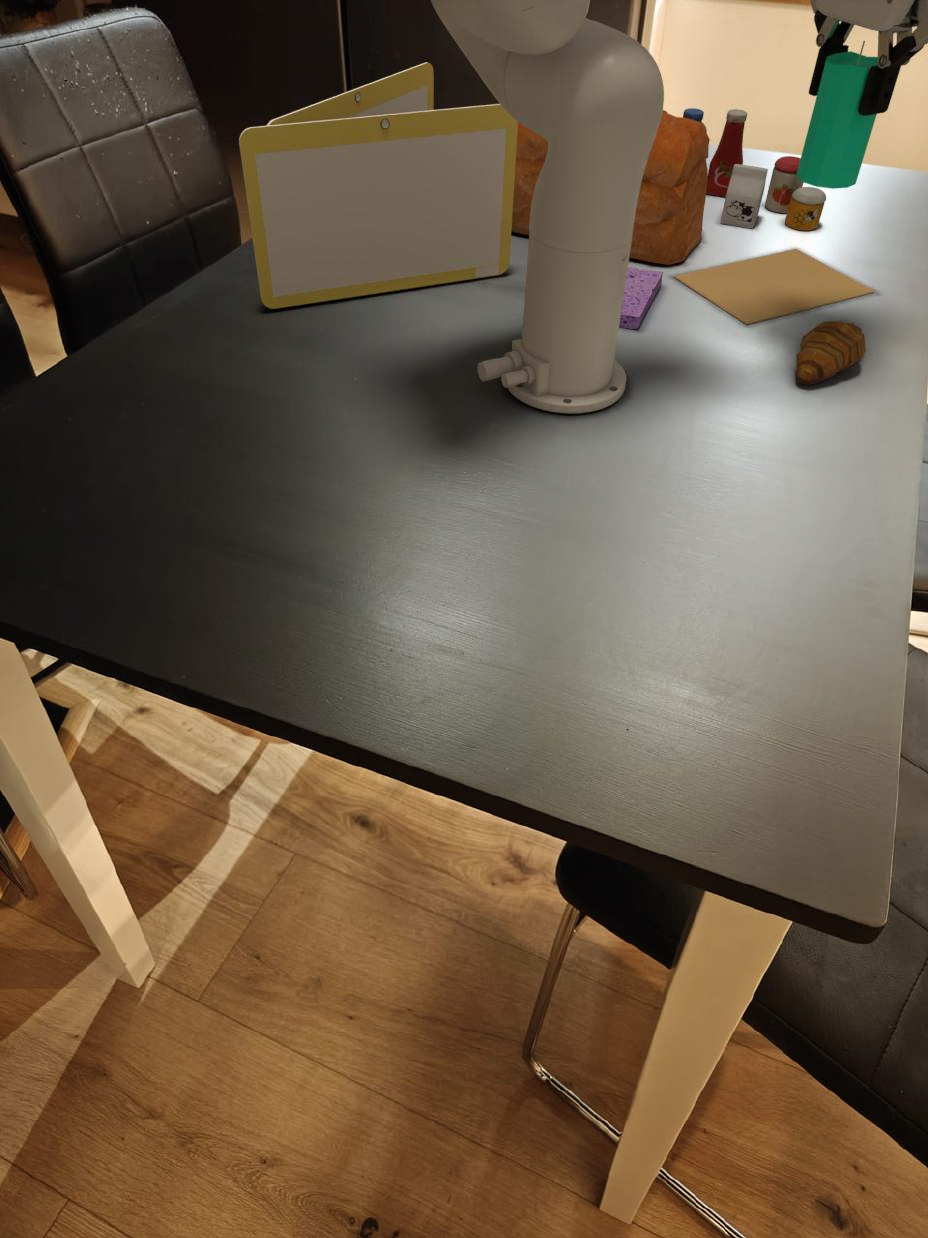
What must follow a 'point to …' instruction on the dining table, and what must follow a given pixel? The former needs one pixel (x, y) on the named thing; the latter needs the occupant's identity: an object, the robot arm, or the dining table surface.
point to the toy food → (757, 181)
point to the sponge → (638, 295)
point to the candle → (838, 124)
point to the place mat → (772, 286)
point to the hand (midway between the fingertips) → (847, 101)
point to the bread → (641, 189)
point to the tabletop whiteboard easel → (379, 193)
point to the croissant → (828, 351)
